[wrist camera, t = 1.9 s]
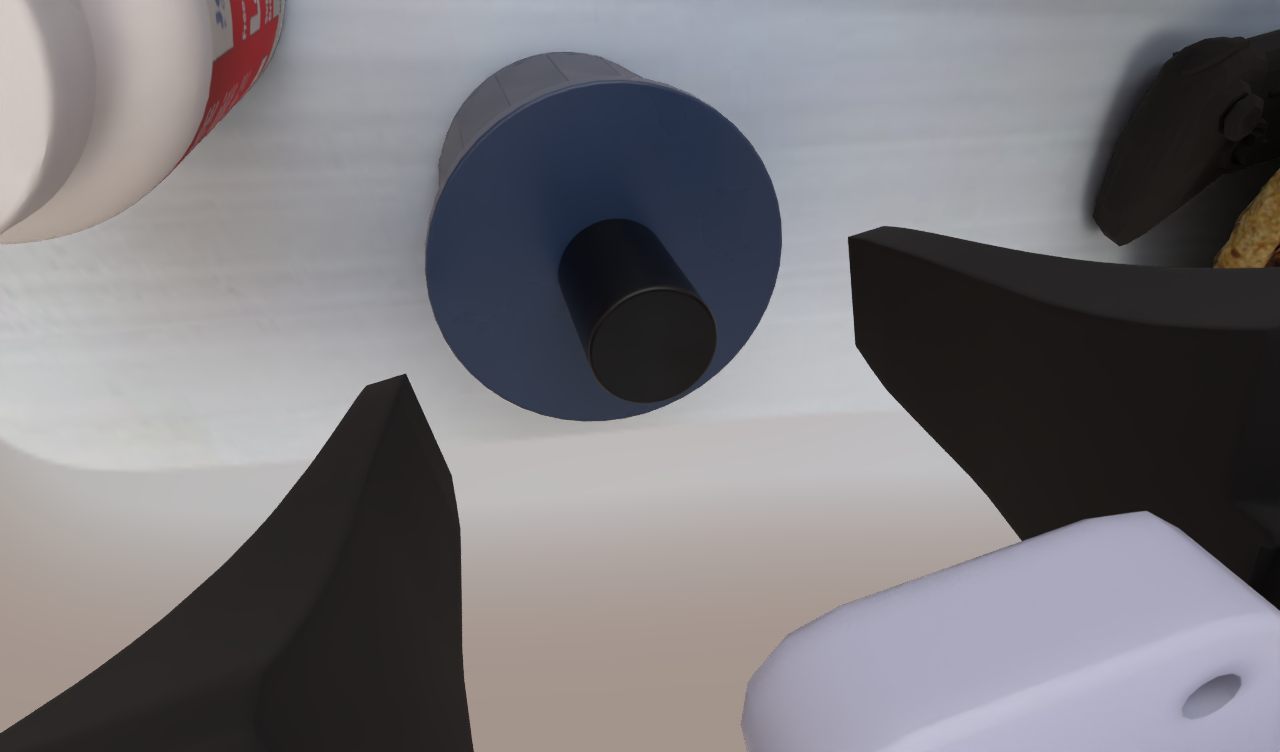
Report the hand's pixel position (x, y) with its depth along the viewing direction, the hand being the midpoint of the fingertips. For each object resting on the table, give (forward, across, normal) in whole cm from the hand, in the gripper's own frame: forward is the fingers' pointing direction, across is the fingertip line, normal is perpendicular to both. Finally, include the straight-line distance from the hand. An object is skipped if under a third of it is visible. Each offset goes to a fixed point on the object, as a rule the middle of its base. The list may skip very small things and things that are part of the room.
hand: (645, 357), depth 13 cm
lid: (+4, 0, 0) cm, 4 cm away
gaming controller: (+10, -20, +4) cm, 23 cm away
